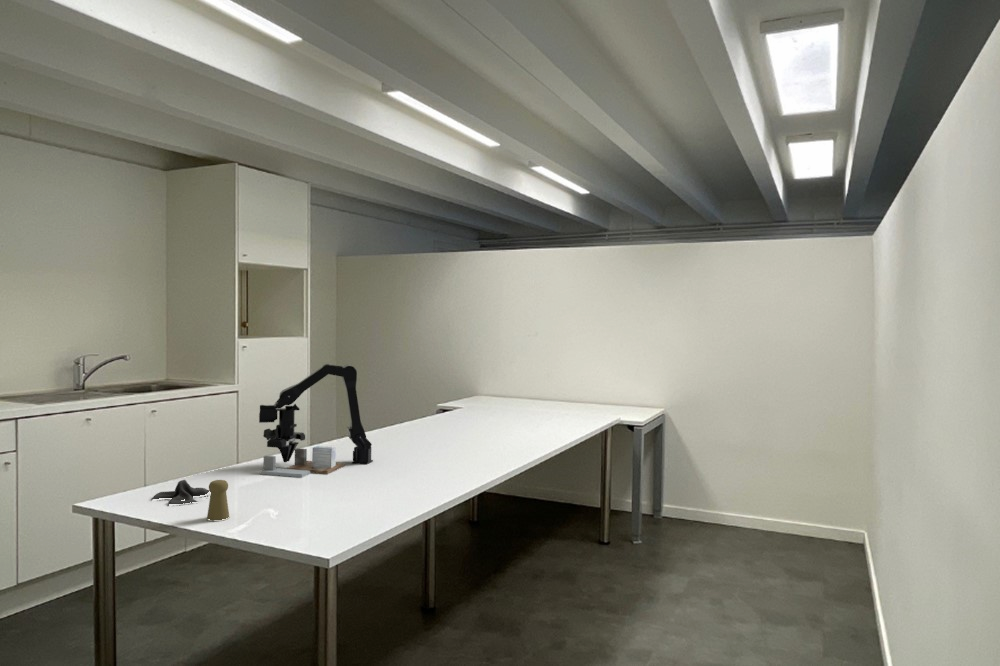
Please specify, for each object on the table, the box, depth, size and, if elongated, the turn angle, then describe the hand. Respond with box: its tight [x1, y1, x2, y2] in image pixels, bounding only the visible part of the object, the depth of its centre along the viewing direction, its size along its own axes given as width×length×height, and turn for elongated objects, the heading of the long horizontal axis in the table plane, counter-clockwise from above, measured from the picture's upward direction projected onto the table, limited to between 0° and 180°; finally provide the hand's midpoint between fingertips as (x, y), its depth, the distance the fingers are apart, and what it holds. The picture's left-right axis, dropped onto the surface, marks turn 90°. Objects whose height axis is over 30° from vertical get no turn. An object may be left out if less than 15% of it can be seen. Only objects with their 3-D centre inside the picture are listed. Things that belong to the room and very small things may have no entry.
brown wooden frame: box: [285, 447, 345, 475], centre depth 262 cm, size 17×14×7 cm
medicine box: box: [311, 445, 337, 469], centre depth 261 cm, size 8×4×9 cm, turn 82°
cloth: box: [151, 479, 209, 505], centre depth 220 cm, size 22×19×6 cm
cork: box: [206, 479, 230, 520], centre depth 197 cm, size 6×6×11 cm
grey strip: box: [259, 455, 311, 478], centre depth 252 cm, size 17×6×6 cm, turn 77°
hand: (286, 461), depth 265 cm, fingers closed
